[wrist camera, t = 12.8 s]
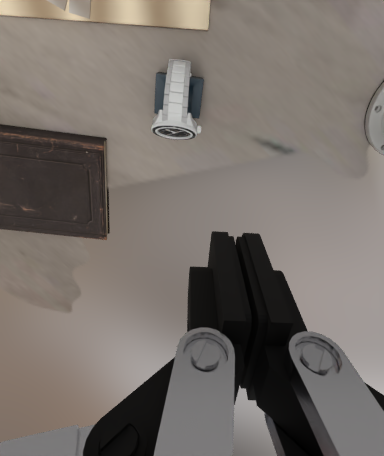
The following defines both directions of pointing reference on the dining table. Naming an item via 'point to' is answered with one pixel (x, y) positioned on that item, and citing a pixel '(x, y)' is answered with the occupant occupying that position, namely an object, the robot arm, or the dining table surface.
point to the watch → (177, 102)
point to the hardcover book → (53, 183)
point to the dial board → (116, 11)
